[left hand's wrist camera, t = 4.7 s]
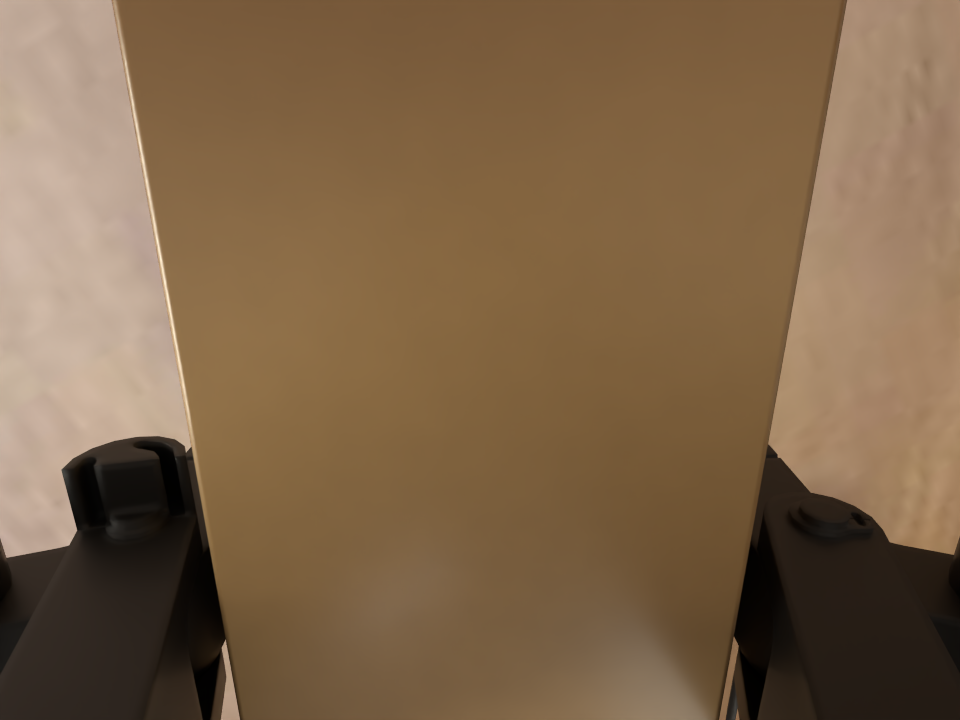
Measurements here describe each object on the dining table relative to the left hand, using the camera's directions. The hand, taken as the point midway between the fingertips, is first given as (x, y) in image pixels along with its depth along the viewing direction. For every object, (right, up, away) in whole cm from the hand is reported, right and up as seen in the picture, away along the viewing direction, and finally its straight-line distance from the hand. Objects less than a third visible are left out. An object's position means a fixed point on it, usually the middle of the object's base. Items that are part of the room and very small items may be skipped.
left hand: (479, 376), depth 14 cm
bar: (0, +7, -2) cm, 7 cm away
